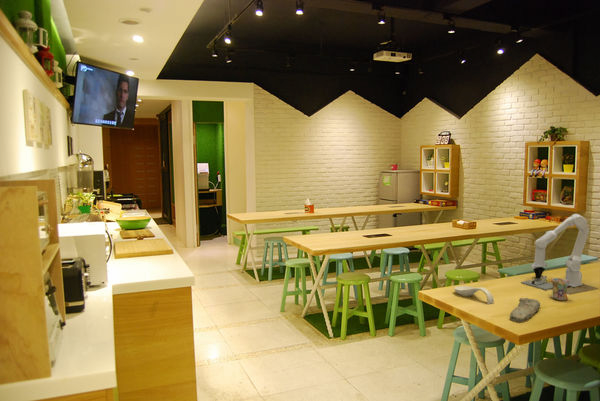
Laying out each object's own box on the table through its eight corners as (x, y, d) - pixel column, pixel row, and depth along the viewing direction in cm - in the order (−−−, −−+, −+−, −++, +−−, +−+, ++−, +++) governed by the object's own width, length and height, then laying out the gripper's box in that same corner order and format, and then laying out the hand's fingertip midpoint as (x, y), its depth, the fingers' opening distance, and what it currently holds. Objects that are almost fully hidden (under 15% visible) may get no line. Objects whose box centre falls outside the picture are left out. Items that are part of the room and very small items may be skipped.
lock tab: (533, 279, 286) (534, 276, 286) (536, 280, 285) (536, 276, 285) (531, 280, 285) (531, 276, 285) (533, 281, 284) (534, 277, 283)
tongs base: (541, 280, 286) (541, 276, 285) (546, 282, 283) (546, 277, 282) (529, 283, 280) (529, 278, 279) (534, 284, 277) (534, 280, 276)
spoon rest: (449, 293, 261) (450, 281, 261) (463, 290, 267) (464, 278, 266) (484, 306, 241) (485, 293, 240) (498, 302, 247) (499, 289, 246)
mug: (572, 301, 249) (573, 283, 248) (555, 301, 249) (557, 282, 248) (559, 294, 261) (561, 276, 260) (543, 294, 261) (545, 276, 260)
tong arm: (542, 280, 285) (542, 275, 285) (548, 282, 282) (549, 276, 282) (530, 283, 279) (531, 277, 278) (537, 285, 275) (537, 279, 275)
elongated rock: (504, 322, 222) (525, 328, 216) (505, 312, 221) (527, 318, 215) (523, 301, 248) (543, 306, 242) (524, 292, 247) (545, 297, 241)
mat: (535, 280, 290) (535, 278, 290) (560, 286, 276) (560, 285, 276) (520, 283, 282) (521, 282, 282) (545, 290, 269) (545, 289, 268)
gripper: (540, 255, 292) (539, 275, 294) (526, 257, 285) (525, 278, 287) (551, 257, 286) (549, 278, 288) (537, 260, 279) (535, 281, 281)
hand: (538, 278), depth 287 cm, fingers closed
